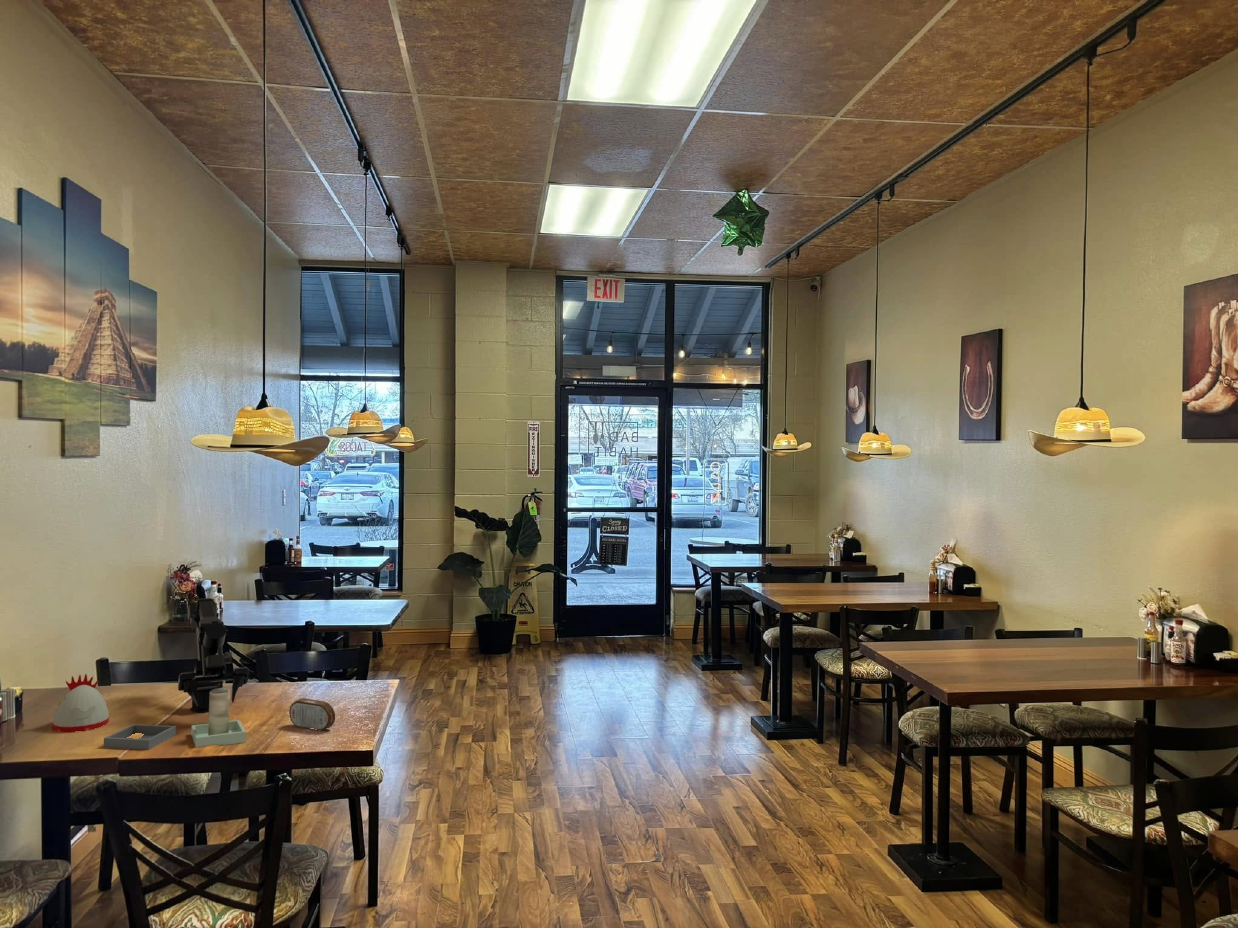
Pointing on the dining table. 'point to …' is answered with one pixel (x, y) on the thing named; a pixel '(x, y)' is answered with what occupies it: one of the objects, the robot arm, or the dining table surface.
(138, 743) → the charcoal bin
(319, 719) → the tin
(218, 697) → the beige cylinder
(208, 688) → the robot arm
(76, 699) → the grey and red dome
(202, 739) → the sage bin
